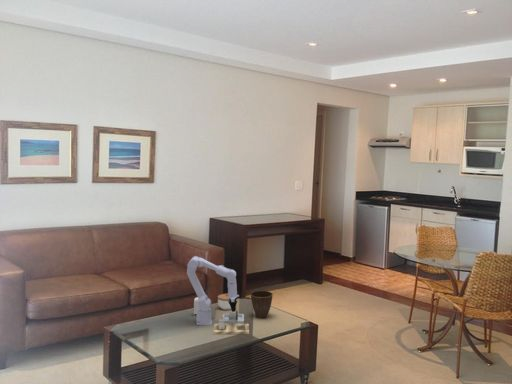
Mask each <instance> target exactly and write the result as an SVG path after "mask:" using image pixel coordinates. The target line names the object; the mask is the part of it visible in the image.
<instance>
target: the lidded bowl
mask: <svg viewBox="0 0 512 384" xmlns="http://www.w3.org/2000/svg"><path fill="white" fill-rule="evenodd" d="M228 301H230V299H229V298H228V292H227V293H226V292H225V293H222V294H219V295H217V304H218V306H219V308H220V309H221V310H222V309H223V310H222V311H232V310H231V306H230V304H229V302H228Z"/></svg>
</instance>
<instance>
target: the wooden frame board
mask: <svg viewBox="0 0 512 384" xmlns="http://www.w3.org/2000/svg"><path fill="white" fill-rule="evenodd" d="M237 328H245V329H237ZM212 334H213V335H250V324H249V323H244V324H225V330H219V323H214V325H213V331H212Z"/></svg>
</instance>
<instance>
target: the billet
mask: <svg viewBox="0 0 512 384" xmlns="http://www.w3.org/2000/svg"><path fill="white" fill-rule="evenodd" d="M218 324H219V327H218V330H226V327H225V319H223V318H218Z"/></svg>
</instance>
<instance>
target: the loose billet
mask: <svg viewBox="0 0 512 384" xmlns="http://www.w3.org/2000/svg"><path fill="white" fill-rule="evenodd" d="M228 314H229V321H238V314H239V311H238V310H235V312H232V310H228Z"/></svg>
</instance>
